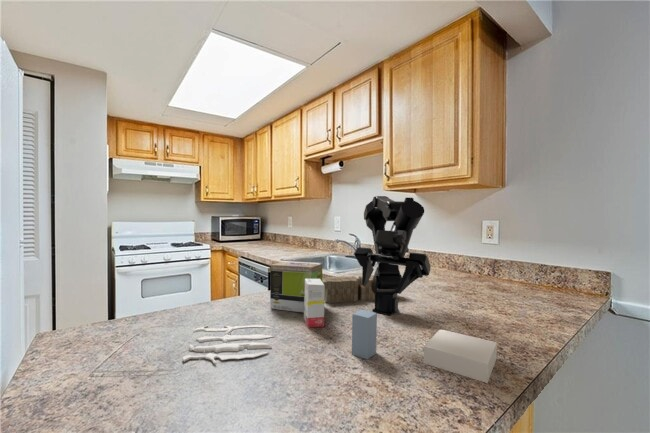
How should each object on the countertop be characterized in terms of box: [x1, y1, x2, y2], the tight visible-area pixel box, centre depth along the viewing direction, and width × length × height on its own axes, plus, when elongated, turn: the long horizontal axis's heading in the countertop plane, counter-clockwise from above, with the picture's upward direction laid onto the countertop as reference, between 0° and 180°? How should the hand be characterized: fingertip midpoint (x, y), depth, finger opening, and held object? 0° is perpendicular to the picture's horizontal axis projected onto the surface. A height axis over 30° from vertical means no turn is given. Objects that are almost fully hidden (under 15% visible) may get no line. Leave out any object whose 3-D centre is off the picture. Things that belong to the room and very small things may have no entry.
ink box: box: [303, 279, 325, 328], centre depth 86 cm, size 9×5×12 cm, turn 10°
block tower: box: [322, 274, 375, 304], centre depth 112 cm, size 8×8×29 cm
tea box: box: [269, 260, 323, 314], centre depth 99 cm, size 15×10×15 cm
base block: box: [422, 328, 498, 384], centre depth 64 cm, size 12×12×4 cm
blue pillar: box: [351, 309, 378, 360], centre depth 67 cm, size 4×4×9 cm
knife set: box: [90, 323, 276, 374], centre depth 71 cm, size 26×35×1 cm
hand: (380, 288), depth 71 cm, fingers open, 9 cm apart
